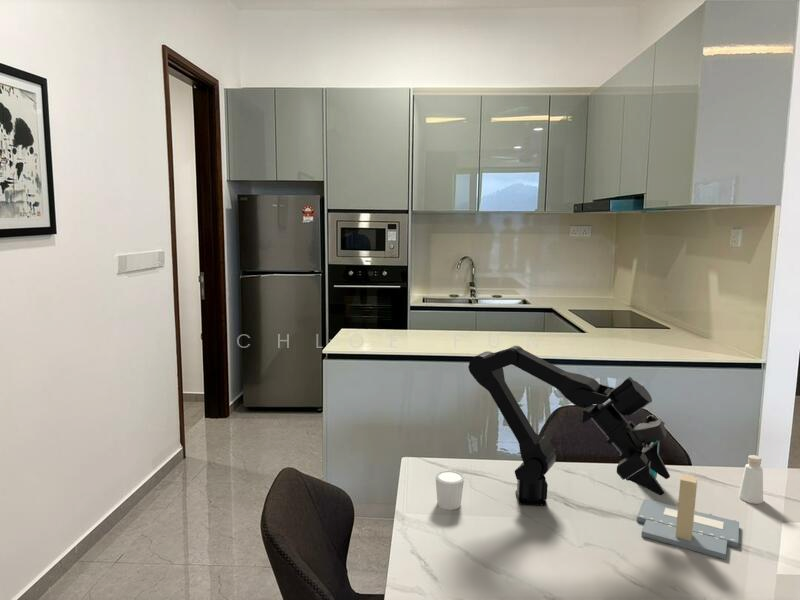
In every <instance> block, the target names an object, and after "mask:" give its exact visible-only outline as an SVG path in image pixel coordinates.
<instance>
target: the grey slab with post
mask: <svg viewBox="0 0 800 600" xmlns="http://www.w3.org/2000/svg"><path fill="white" fill-rule="evenodd" d="M697 485H698V477H696V476H691V475H686V474H681V476H680V480H679V493H678V504H677V507H678V513H677V525H676V527H674V526H670V525H666V524H662V523H658V522H655V521H651V520H647V519H646V521H645V523H643V527H642V529H641V537H644V538H648V539H651V540H654V541H658V542H662V543H666V544H668V545H671V546H672V545H673V546H676V547H680V548H684V549H686V550H690V551H694V552H698V553H701V554H706V555H708V556H712V557H715V558H720V559H723V560H726V557H727V549H728V548H727V547H728V545H727V540H723V539H719V538H716V537H712V536H708V535H704V534H700V533H697V532H693V522H694V511H696V510H695V509H696V500H697V499H696V498H697V488H698V487H697Z"/></svg>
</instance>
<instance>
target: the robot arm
mask: <svg viewBox="0 0 800 600" xmlns="http://www.w3.org/2000/svg"><path fill="white" fill-rule="evenodd" d="M511 365H512V366H514V367H516V368H519V369H520V370H522V371H524V372H526V373H528V374H529V375H531V376H533V377H535V378H536V379H538V380H540V381H542V382H544V383H546V384H548V385H550V386H552V387H554V388H555V389H556V390H558V391H559V392H560V394H561V395H562V397H564V398H565V399H567V401H569V402H570V403H572V404H573V405H574V406H576V407H577V408H579V409H583V410H582V413H581V414H582V418H581V422H582V423H583V424H586V423H588V421H590V420H592V421H593V422H594V424H595V425H596V426H597V427H598V428H599V429H600V431H601V432H602V433H603V434H604V436H605V437H606V438H607V439H606V443H607V444H608V445H611V444H612V445H613V446H614V447H615V448H616V450H617V451H618V452H619V453H620V454H619V458H620V459H621V460H620V461H619V462H618V464H617V465H616V474H617V475H618V476H619V477H620V479H622V480H625V481H627V482H628V481H630V482H632V483H634V484H636V485H638V486H641V487H643V488H645V489H646V490H648V491H651V492H653V494H654V493H655V495H659V496H663V495H664V494H665V491H664V489H663V487H662V486H661V484H660V483H659V481H658V480H657V478H655V477H654V475H653V474H652V472H651V471H650V469H652V470H653V471H655V472H656V473H657V475H659V476H660V477H662V478H664V480H668V479H670V477H671V475H670V473H669V471H668V469H667V467H666V465H665V463H664V462H663V459H662V457H661V456H660V453H658V448H659V449H660V444H659V441H660V442H661V441H664V440H665V439H666V436H667V435H668V433H667V430H666V427H665V422H664V421H663V420H662V418H658V417H657V416H656V415H655V414H651V415H648V416H646V421H645V422H642V424H641V423H640V424H641V425H636V423H635V422H634V421H631V420H629V421H628V420H627V419H626V417H624V416H629V417H631V416H633V415H635V414H636V413H638V412H639V411H641V410H642V409H644V408H645V407H647V406H648V405H650V404H651V403H652V402H653V399H652V396H651V394H650V393H649V391H648V390H647V389H646V388H645V386H644V385H641V384H640V383H639V382H637V381H636V380H634V379H633V378H632V377H631V376H628V377H627V378H625V379H624V381H623V382H621V383H620V384H619V385H618V386H616V387H613V386H608V385H605V384H602V383H599V382H598V381H597V380H596V379H594V377H593V378H592V377H589V376H586V375H583V374H580V373H576V372H575V373H574V372H570V371H566V370H564V369H563V368H562V369H561V368H560V367H558V366H556V365H554V364H552V363H550V362H548V361H546V360H544V359H543V358H541V357H539V356H537V355H535V354H533V353H531V352H529V351H528V350H525V349H523V347H521V346H520V345H513V346H511V347H509V348H507V349H501V350H499V351H496V352H492V351H483V352H482V353H479V354H476V355H475V356H473V357H472V358H471V359H470V360H469V363H468V371H469V374H471V376H472V377H473V378H474V380H475V381H476V382H477V383H478V384H479V385H480V386H481V387H482V388H484V389H486V390H487V391H488V393H489V395H490V397H491V398H492V399H493V402H494V403H495V405H496V406H497V408H498V409H499V412H500V413H501V415H502V416H503V419H504V420H505V421H506V424H507V425H508V427H509V429H510V430H511V433H512V434H513V435H514V437H515V438H516V440H517V442H518V446H519V453H520V454H519V455H520V459H521V460H522V463H521V464H520V465H519V466H518V467H517V468H516V469H515V470H514V474H515V475H514V476H515V478H516V480H517V481H516V482H517V483H516V486H517V487H516V490H515V497H516V499H517V502H518V505H520V506H521V505H524V506H525V505H526V506H547V502H546V500H548V482H547V480H546V476H545V475H546V474H547V473H548V471H550V469H551V468H552V467H553V466H554V464H555V463H556V458H557V455H556V452H555V451H556V450H557V449H556V448H555V447H554V446H553V445H552V443H551V441H550V439H549V436H548V435H544V436H543V437H541V436H540V435H539V434H537V432H536V431H535V430H534V428H533V426H532V424H531V423H530V421H529V420H528V418H527V416H526V415H525V413H524V411H523V410H522V408H521V406H520V405H519V402H518V401H517V399H516V398H515V396H514V394H513V392H512V391H511V389H510V388H509V386H508V384H507V382H506V378H505V373H504V368H506V367H508V366H511ZM608 400H609V401H608ZM593 405H594V406H593ZM591 406H593V407H591ZM652 442H656V443H654V444H653V443H652Z"/></svg>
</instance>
